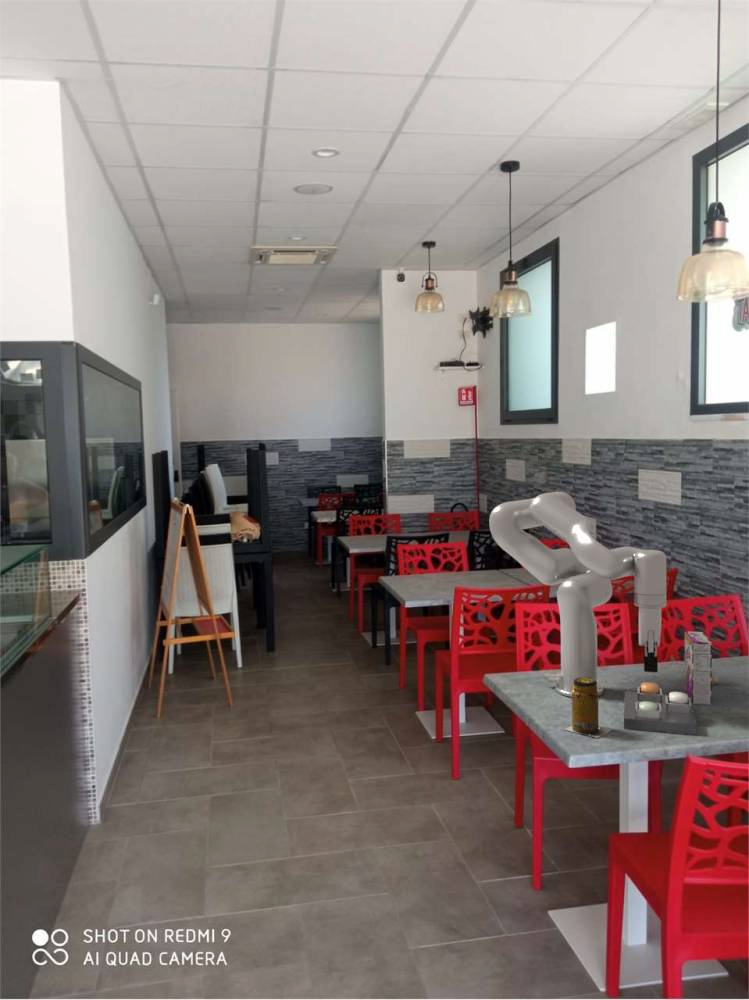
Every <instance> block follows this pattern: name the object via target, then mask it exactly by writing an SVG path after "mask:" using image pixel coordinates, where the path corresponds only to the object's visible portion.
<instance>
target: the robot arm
mask: <svg viewBox="0 0 749 1000" xmlns="http://www.w3.org/2000/svg"><path fill="white" fill-rule="evenodd" d="M576 507H577V506H576V503H575V500H574V498H573V497H572V496H571V495H570V494H568V493H566V492H565V491H553V492H545V493H541V494H539V495H537V496H536V497H533V498H529V499H528V498H527V499H521V500H513V501H507V502H506V501H505V502H503V503H500V504H498V505H496V506H495V507H494V508H493V509H492V510H491V512H490V515H489V530H490V533H491V536H492V539H493V540H494V541H495V543H496V544H497V545H498V546H499V547H500V548H501V549H502V550H503V551H505V553H507V554H508V555H509V556H511V557H512V558H513V559H514V560H515V561H517V562H518V563H519V564H520V565H521V566H522V568H524V569H525V570H527V572H529V573H530V574H531V575H532V576H533V577H534V578H536V579H537V580H538V581H539V582H540V583H542V584H543V585H545V586H555V585H559V584H560V585H559V586H558V588H557V593H556V599H557V605H558V611H559V617H560V618H559V619H560V670H559V672H556V673H551V672H550V673H548V672H545V673H544V681H547V682H548V683H555V685H554V688H555V689H554V690H555V692H557V693H558V694H560V695H562V696H565V697H569V698H570V697H571V698H572V691H573V689H574V679H576V678H579V677H588V678H592V679H595V680H596V682H597V684H596V686H597V692H598V697H599V696H601V695H602V694H603V693H604V687H603V686H602V685H601V684H599V683H598V627H597V620H596V617H595V616H596V615H595V612H594V608H596V607H599V606H602V605H604V604H606V603H607V602H609V601H610V600H611V597H612V595H613V586H612V582H611V581H614V580H618V579H621V578H625V577H630V576H634V606H636V607H638V645H639V646H640V647H642V646H644V654H643V671H644V672H645V673H658V670H659V669H658V663H659V661H658V655H657V649H658V648H659V647H660V644H661V632H662V608H666V607H667V557H666V556H667V555H666V554H665V552H663V551H661V550H659V549H658V550H656V549H641V548H637V547H633V546H622V547H616V548H612V549H609V548H607V547H606V546H604V545H603V544H601V542H598V541H597V540H596V539H595V538H594V537H593V536H592V535H591V533H590V530H591V522H590V519H589V518H588V517H586V516H585V515H583V514H582V513H580V512H578V511H577V509H576ZM542 526H543V527H544V528H546V529H547V530H549V531H550V532H551V533H552V534H554V535H555V536H557V537H558V538H560V540H562V541H564V542H565V543H567V544H568V545H569V548H568V547H563V548H556V549H552V548H550V547H548V546H547V545H545V544H544V543H543V542H541V541H540V540H539V539H538V538H537V537H535V536H534V535H532V534H531V533H528V532H526V531H525V530H528V529H532V528H533V529H534V528H537V527H542Z"/></svg>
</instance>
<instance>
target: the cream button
mask: <svg viewBox="0 0 749 1000" xmlns="http://www.w3.org/2000/svg"><path fill="white" fill-rule="evenodd" d="M668 695H669V703H673V704H686V705H687V704H688V695H687V693H686V692H681V691H671V692H669V694H668Z"/></svg>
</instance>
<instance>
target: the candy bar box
mask: <svg viewBox="0 0 749 1000" xmlns="http://www.w3.org/2000/svg"><path fill="white" fill-rule="evenodd" d="M712 645H713V644H712V642H711V641H710V639H709V638H708V637H707V636H706V633H704V631H684V691H685V694H687V695H688V696H690V697H691V699H692V704H693V705H702V706H712V701H713V700H712V697H713V695H712V688H713V685H712V671H713V670H712V668H713V667H712V666H713V664H712V663H713V662H712V660H713V657H712V655H713V654H712V652H713V651H712V647H713V646H712Z"/></svg>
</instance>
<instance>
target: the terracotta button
mask: <svg viewBox="0 0 749 1000" xmlns="http://www.w3.org/2000/svg"><path fill="white" fill-rule="evenodd" d="M640 686H641V693H647V694H658V688H660V687H659V686H660V685H659V684H658V683H656V682H649V681H647V682H642V683H641V684H640Z"/></svg>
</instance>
